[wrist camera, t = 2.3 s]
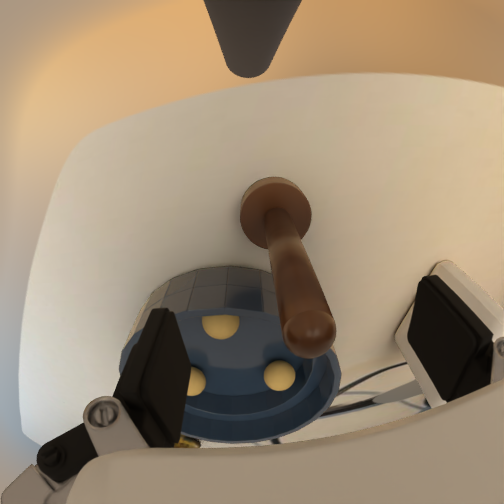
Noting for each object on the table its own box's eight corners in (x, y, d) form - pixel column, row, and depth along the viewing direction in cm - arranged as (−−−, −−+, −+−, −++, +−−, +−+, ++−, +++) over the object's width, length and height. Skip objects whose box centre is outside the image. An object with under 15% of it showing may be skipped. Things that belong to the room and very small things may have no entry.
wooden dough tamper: (236, 180, 20) (222, 295, 8) (304, 173, 20) (397, 273, 7) (244, 242, 22) (245, 402, 10) (307, 235, 22) (373, 383, 9)
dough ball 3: (261, 356, 27) (263, 379, 24) (293, 352, 27) (297, 375, 24) (264, 375, 28) (266, 398, 25) (293, 372, 28) (297, 394, 25)
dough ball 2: (201, 296, 24) (196, 319, 21) (237, 293, 24) (236, 316, 21) (207, 324, 25) (204, 348, 22) (241, 321, 25) (241, 345, 22)
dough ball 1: (174, 361, 27) (169, 383, 24) (203, 360, 27) (200, 383, 24) (182, 379, 28) (178, 401, 26) (209, 379, 28) (207, 401, 26)
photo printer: (437, 253, 23) (519, 335, 12) (462, 264, 24) (537, 339, 13) (386, 338, 27) (432, 433, 16) (413, 342, 28) (460, 427, 17)
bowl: (112, 273, 23) (83, 315, 18) (328, 251, 23) (351, 292, 17) (168, 401, 31) (161, 442, 26) (320, 391, 31) (330, 433, 25)
